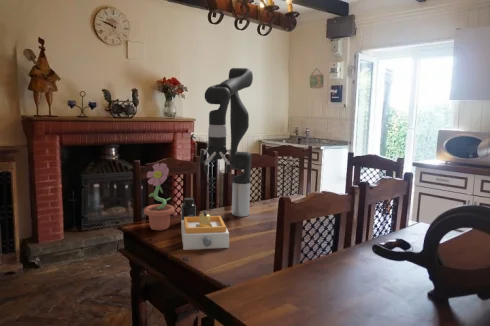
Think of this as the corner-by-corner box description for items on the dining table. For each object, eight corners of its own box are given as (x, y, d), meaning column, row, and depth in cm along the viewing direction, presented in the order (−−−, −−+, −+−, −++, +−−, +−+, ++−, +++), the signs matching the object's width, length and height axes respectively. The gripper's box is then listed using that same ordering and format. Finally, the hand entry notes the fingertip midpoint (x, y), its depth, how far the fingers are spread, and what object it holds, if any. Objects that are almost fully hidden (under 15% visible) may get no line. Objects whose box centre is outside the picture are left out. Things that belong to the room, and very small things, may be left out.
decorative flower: (135, 229, 172) (134, 163, 167) (156, 221, 184) (155, 160, 180) (161, 234, 165) (161, 166, 161) (180, 226, 177) (181, 163, 173)
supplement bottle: (189, 226, 178) (189, 201, 177) (178, 223, 182) (178, 199, 180) (198, 222, 184) (198, 198, 182) (187, 220, 188) (187, 196, 186)
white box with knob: (181, 233, 168) (181, 215, 166) (221, 231, 171) (222, 214, 170) (183, 252, 145) (184, 232, 144) (230, 250, 149) (230, 230, 148)
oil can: (198, 234, 161) (199, 210, 160) (209, 233, 162) (209, 209, 161) (199, 237, 157) (199, 212, 155) (210, 237, 158) (211, 212, 156)
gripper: (232, 134, 164) (231, 171, 167) (199, 134, 162) (199, 171, 164) (235, 136, 157) (234, 174, 160) (200, 136, 154) (200, 175, 157)
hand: (216, 173), depth 162 cm, fingers open, 8 cm apart
